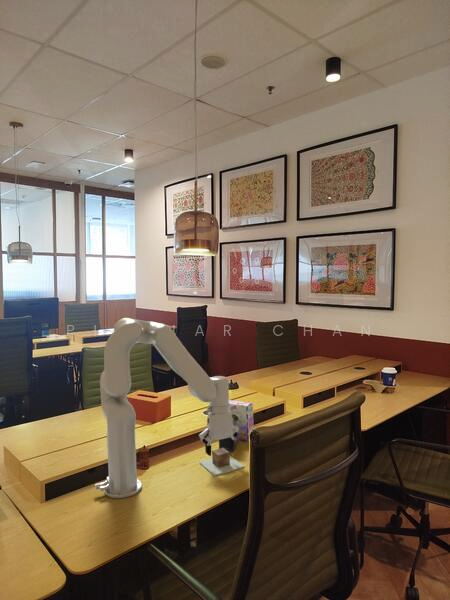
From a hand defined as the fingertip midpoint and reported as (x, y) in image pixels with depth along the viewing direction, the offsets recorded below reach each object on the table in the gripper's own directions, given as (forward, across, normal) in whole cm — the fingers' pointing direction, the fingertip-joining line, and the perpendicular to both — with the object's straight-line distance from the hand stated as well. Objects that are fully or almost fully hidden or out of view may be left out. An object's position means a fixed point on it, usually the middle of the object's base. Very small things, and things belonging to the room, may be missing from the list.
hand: (219, 451), depth 159 cm
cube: (+5, 0, 0) cm, 5 cm away
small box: (+6, +12, +14) cm, 19 cm away
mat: (+5, +1, 0) cm, 5 cm away
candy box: (+5, +21, +21) cm, 30 cm away
